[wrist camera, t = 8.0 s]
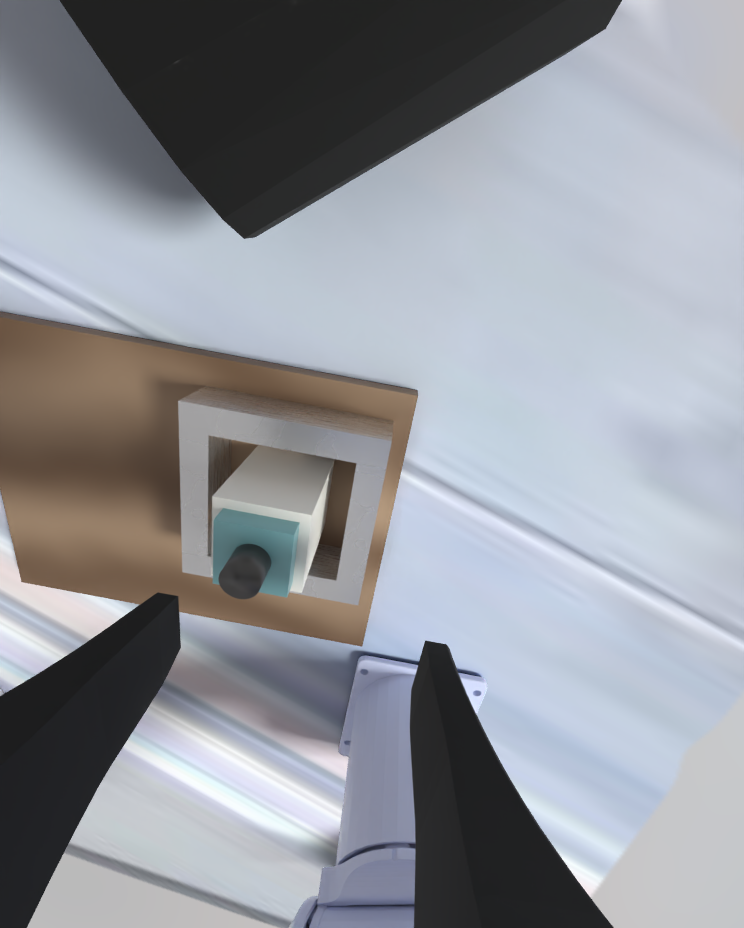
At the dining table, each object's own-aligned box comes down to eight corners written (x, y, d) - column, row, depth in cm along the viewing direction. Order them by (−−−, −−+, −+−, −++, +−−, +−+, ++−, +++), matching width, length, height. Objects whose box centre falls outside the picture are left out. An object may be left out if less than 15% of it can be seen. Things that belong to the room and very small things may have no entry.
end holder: (363, 571, 22) (357, 605, 19) (205, 541, 22) (182, 572, 20) (393, 420, 18) (391, 440, 16) (206, 385, 18) (178, 400, 16)
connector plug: (324, 524, 21) (288, 632, 14) (254, 510, 21) (186, 613, 14) (334, 459, 19) (298, 548, 13) (258, 445, 19) (184, 527, 13)
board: (363, 633, 25) (362, 646, 24) (35, 571, 25) (21, 581, 24) (417, 390, 19) (417, 396, 18) (-19, 308, 19) (-41, 309, 18)
